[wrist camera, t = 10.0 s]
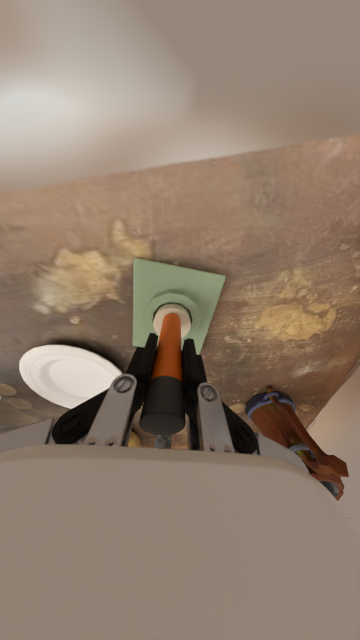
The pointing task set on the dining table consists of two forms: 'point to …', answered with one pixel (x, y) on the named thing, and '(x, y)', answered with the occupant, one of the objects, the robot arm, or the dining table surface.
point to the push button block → (173, 297)
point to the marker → (165, 383)
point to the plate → (67, 373)
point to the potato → (133, 440)
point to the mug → (295, 438)
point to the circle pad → (176, 310)
